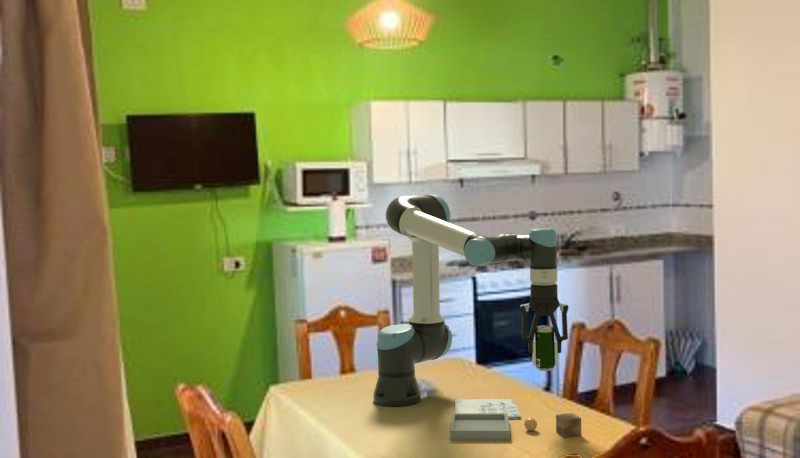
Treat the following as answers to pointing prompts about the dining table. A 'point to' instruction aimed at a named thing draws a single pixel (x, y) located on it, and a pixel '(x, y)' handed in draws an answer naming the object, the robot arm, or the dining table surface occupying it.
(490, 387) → the dining table surface
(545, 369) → the beer can
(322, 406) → the dining table surface
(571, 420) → the walnut block
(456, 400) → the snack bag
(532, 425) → the terracotta ball
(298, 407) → the dining table surface
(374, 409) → the dining table surface
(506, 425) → the dish
